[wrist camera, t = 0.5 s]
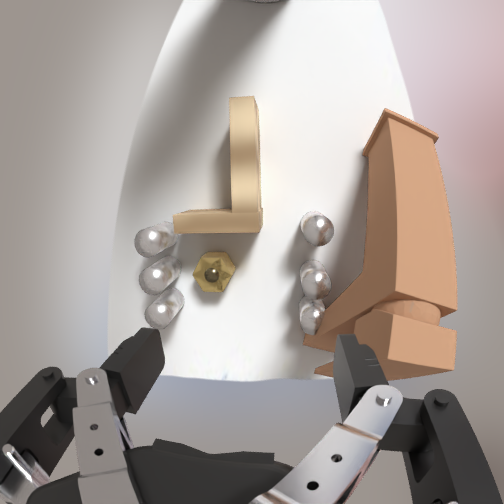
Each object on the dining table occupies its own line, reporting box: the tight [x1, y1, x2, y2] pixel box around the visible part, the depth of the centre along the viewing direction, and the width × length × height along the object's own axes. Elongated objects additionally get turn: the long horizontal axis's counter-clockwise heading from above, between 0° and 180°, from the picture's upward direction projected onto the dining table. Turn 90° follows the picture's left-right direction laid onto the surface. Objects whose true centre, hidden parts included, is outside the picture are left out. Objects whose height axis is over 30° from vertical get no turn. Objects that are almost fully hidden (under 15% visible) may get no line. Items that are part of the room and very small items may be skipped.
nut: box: [193, 252, 236, 292], centre depth 35 cm, size 4×5×3 cm
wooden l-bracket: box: [173, 96, 263, 234], centre depth 30 cm, size 14×9×6 cm, turn 1°
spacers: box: [135, 211, 334, 335], centre depth 33 cm, size 14×22×6 cm, turn 91°
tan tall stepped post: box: [303, 108, 457, 381], centre depth 29 cm, size 7×23×25 cm
